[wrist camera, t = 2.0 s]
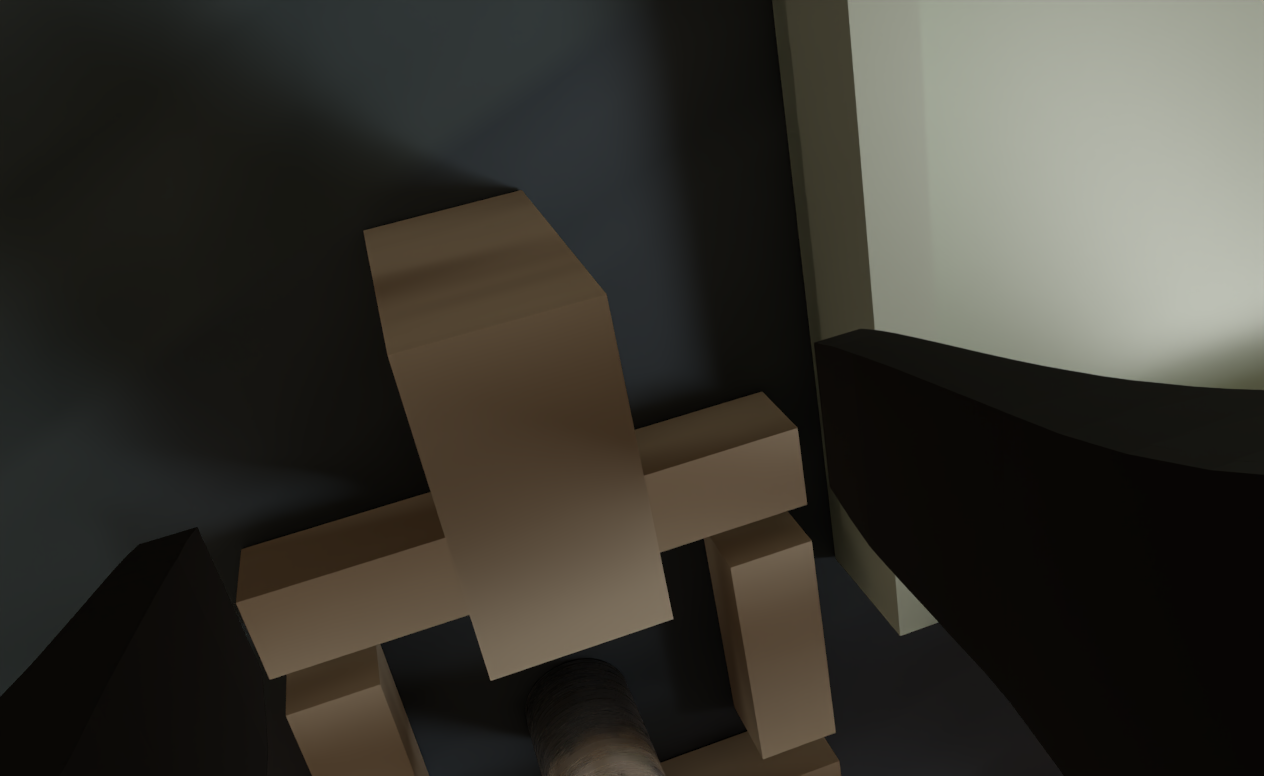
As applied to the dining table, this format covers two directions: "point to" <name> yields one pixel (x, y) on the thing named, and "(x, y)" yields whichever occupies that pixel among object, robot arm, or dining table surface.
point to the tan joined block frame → (540, 512)
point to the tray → (1030, 190)
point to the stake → (588, 724)
